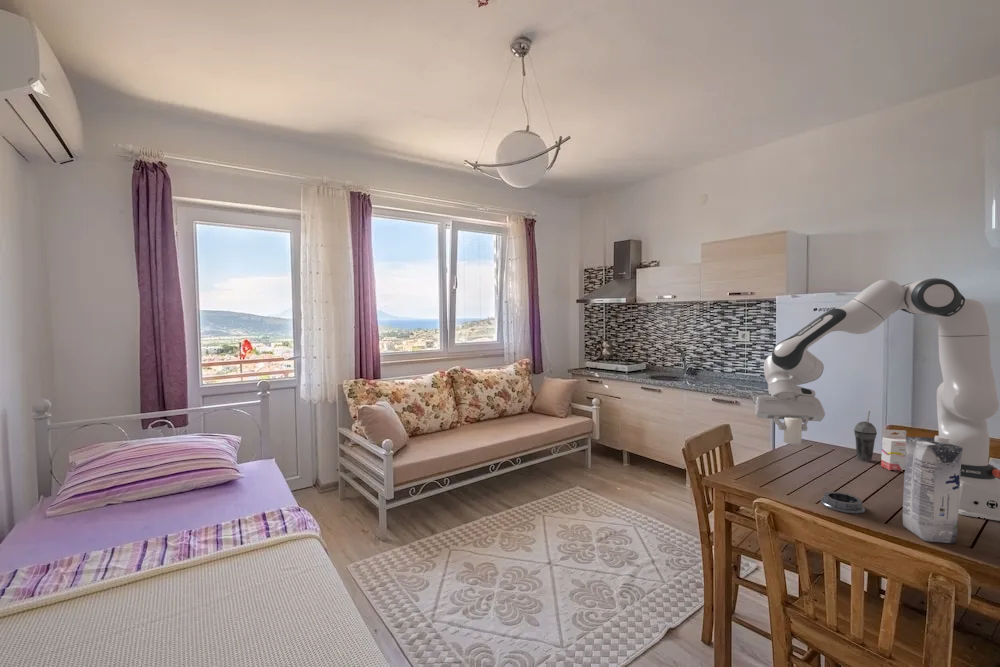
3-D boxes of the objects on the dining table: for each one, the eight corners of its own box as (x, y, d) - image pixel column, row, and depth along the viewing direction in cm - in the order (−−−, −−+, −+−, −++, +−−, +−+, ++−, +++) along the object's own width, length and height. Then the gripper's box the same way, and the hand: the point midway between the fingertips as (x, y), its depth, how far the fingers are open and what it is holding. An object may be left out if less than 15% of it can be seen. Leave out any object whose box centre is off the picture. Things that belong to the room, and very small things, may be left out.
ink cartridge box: (890, 471, 172) (891, 432, 171) (880, 466, 177) (882, 429, 176) (914, 472, 171) (916, 433, 170) (904, 467, 176) (906, 429, 175)
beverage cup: (848, 457, 189) (850, 409, 188) (866, 457, 188) (868, 409, 187) (861, 462, 181) (863, 412, 180) (880, 463, 181) (882, 413, 180)
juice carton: (922, 543, 119) (927, 440, 117) (896, 524, 129) (901, 430, 128) (963, 546, 117) (969, 442, 116) (933, 527, 127) (938, 432, 126)
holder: (865, 505, 142) (865, 496, 142) (864, 517, 134) (864, 508, 133) (822, 495, 149) (822, 488, 149) (818, 507, 141) (819, 498, 140)
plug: (802, 441, 152) (803, 418, 152) (800, 445, 148) (801, 420, 148) (784, 439, 155) (785, 415, 155) (782, 442, 151) (783, 418, 151)
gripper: (753, 388, 160) (760, 422, 151) (819, 390, 155) (831, 426, 146) (749, 398, 165) (756, 432, 156) (814, 401, 159) (825, 436, 150)
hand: (793, 429), depth 151 cm, fingers closed on plug, 5 cm apart
